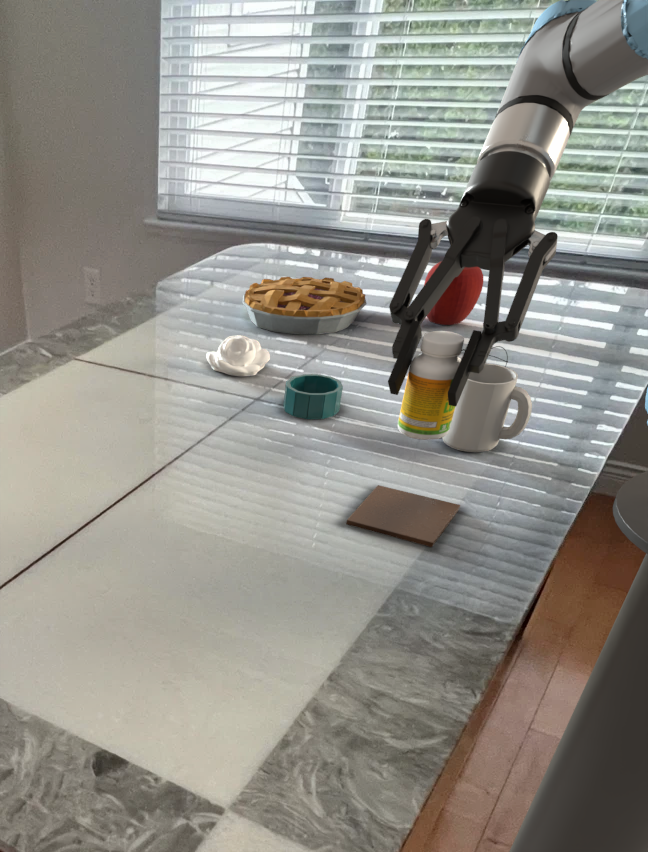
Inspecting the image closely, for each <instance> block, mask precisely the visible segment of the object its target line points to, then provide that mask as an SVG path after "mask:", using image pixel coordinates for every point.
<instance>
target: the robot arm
mask: <svg viewBox="0 0 648 852" xmlns="http://www.w3.org/2000/svg"><path fill="white" fill-rule="evenodd" d="M519 51H520V52H519V54H518V56H517V59H516V62H515V65H514V68H513V70H512V73H511V75H510V78H509V80H508V83H507V86H506V89H505V91H504V94H503V96H502V99H501V102H500V104H499V106H498V109H497V112H496V114H495V116H494V119H493V122H492V123H491V126H490V128H489V131H488V134H487V135H486V138H485V140H484V143H483V146H482V148H481V150H480V153H479V154H478V157H477V159H476V160H477V161H476V164H475V166H474V167H473V170H472V172H471V174H470V177H469V178H468V182H467V184H466V187H465V190H464V191H463V194H462V196H461V199H460V202H459V204H458V206H457V208H456V210H455V211H454V212H452V214H451V215H450V216H448V218H447V220H446V221H445V220H444V221H440V222H434V223H432V220H431V219H430V218H424V219H421V221H419V223H418V231H417V233H418V234H417V241H416V244H415V245H414V246H415V247H414V249H413V251H412V253H411V254H410V257H409V259H408V262H407V264H406V266H405V269H404V271H403V273H402V276H401V278H400V280H399V282H398V284H397V287H396V289H395V291H394V293H393V295H392V298H391V300H390V302H389V305H388V308H389V313H390V318H391V322H392V323H393V324H396V325H397V324H398V325H400V327H399V328H398V331H397V334H396V336H395V339H394V341H393V343H392V346H391V350H392V351H391V353H392V357H393V358H392V359H395V363H394V365H393V367H392V370H391V373H390V375H389V377H388V379H387V384H388V388H389V393H390V395H395V396H398V395H399V393H400V391H401V388H402V386H403V383H404V381H405V378H406V376H407V375H408V372H409V368H410V364H411V361H412V360H413V359H414V358H415V354H416V351H417V349H418V347H419V344H420V343H421V341H422V338H423V332H422V323H423V322H424V320H425V319H426V318H427V315H428V314H429V312H430V311H431V309H432V308H433V307H434V305H435V304H436V303H437V301H438V300H439V299H440V297H441V296H442V294H443V293H444V292H445V290H446V289H447V288H448V286H449V285H450V284H451V282H452V281H453V279H454V278H455V277H458V276H459V274H460V273H461V272H462V270H463V269H464V268H465V267H468V268H469V267H479V268H480V269H481V270H484V271H488V280H487V287H486V289H487V290H486V297H485V307H484V316H483V323H482V330H476V329H473V330H472V332H471V335H470V338H469V340H468V342H467V344H466V347H465V351H464V352H463V353H462V357H461V358H460V359H461V361H460V364H459V366H458V369H457V371H456V374H455V376H454V378H453V381H452V383H451V386H450V388H449V390H448V402H449V405H451V406H457V404H458V401H459V399H460V396H461V394H462V392H463V389H464V387H465V384H466V382H467V380H468V377H469V375H470V372H473V373H480V372H481V371H482V370H483V368H484V366H485V363H486V364H487V361H488V358H489V357H490V356H489V355H491V351H492V350H493V349H492V348H493V347H494V345H495V344H496V343H498V342H501V341H502V342H503V341H505V342H508V343H511V342H515V340H516V339H517V338H518V337H519V334H520V331H521V328H522V325H523V324H524V323H523V322H524V320H525V318H526V315H527V312H528V310H529V308H530V305H531V302H532V300H533V296H534V294H535V292H536V289H537V286H538V283H539V281H540V278H541V276H542V273H543V271H544V269H545V268H546V267H547V266H548V264H549V263H550V262H551V261H552V260H553V258H554V257H555V256H556V254H557V246H558V233H557V232H555V231H549V232H547V233H546V234H545V233H542V232H540V231H537V230H536V219H537V217H538V215H539V212H540V210H541V207H542V205H543V203H544V200H545V197H546V195H547V193H548V190H549V189H550V184H551V182H552V179H553V178H554V175H556V174H555V173H556V171H557V169H558V167H559V164H560V162H561V159H562V156H563V154H564V152H565V150H566V147H567V144H568V142H569V139H570V137H571V135H572V133H573V130H574V127H575V125H576V123H577V121H578V118H579V117H580V114H581V112H582V111H583V110H584V108H586V107H587V106H589V105H591V104H593V103H595V102H596V101H598V100H601V99H603V98H605V97H608V96H609V95H611V94H612V93H614V92H616V91H618V90H619V89H621V88H623V87H625V86H627V85H629V84H630V83H633V82H635V81H636V80H638V79H640V78H643V77H646V76H648V0H558V1H555V2H554V3H552V4H551V5H549V6H548V7H547V8H546V9H545V10H543V12H541V14H540V15H539V16H538V17H537V18H536V21H535V22H534V24H533V26H532V28H531V31H530V33H529V35H528V37H527V39H526V40H525V42H524V45H523V46H522V47H521V49H520V50H519ZM445 237H447V239H448V242H449V245H450V246H449V247H448V249H447V250H446V252H445V254H444V257H443V259H442V260H441V261H442V262H441V261H440V262H441V263H440V265H439V266H438V267H437V269H436V270H435V271H434V273H433V274H432V276H431V277H430V278H429V280H428V281H427V282H426V284H425V285H424V284H423V286H422V288H421V289H420V291H419V292H418V294H417V295H416V296H415V294H416V292H417V290H418V287H419V285H420V282H421V280H422V279H423V276H424V274H425V272H426V269H427V267H428V265H429V262H430V260H431V257H432V253H433V250H436V249H437V248H438V246H439V245H440V244H441V240H442V239H443V238H445ZM527 246H528V260H527V263H526V265H525V269H524V271H523V274H522V276H521V278H520V281H519V284H518V286H517V289H516V291H515V294H514V297H513V300H512V303H511V305H510V308H509V310H508V313H507V316H506V319H505V320H502V321H499V319H500V309H501V301H502V293H503V283H504V275H505V266H506V262H508V261H509V260H511V259H512V258H513V257H514V256H515V255H517V254H519V252H521V251H522V250H523V249H524V248H526V247H527ZM414 296H415V298H414ZM413 298H414V299H413ZM644 409H645V411H646V412H647V413H648V387H647V388H646V393H645V403H644ZM646 424H647V425H648V420H647V421H646Z"/></svg>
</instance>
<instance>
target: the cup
mask: <svg viewBox="0 0 648 852" xmlns="http://www.w3.org/2000/svg"><path fill="white" fill-rule="evenodd" d="M518 378H519V375H518V372H516V371H515V370H514V369H511V368H510V367H507V366H506V367H505V366H504V365H500V364H495V363H487V362H486V363H485V366H484V368H483V370H482V371H481V372H480V373H473V372H470V375H469V377H468V380H467V382H466V384H465V387H464V389H463V392H462V394H461V396H460V399H459V401H458V404H457V406H455V410H454V414H453V418H452V422H451V426H450V429H449V432H448V434H447V435H446V436H444V437H442V438H441V439H442V441H443V443H444V444H445V445H446V446H448V447H449V448H452V449H455V450H457V451H461V452H467V453H484V452H488V451H491V450H493V449H494V448H495V447H496V446H497V445H499V441H500V440H512V439H514V438H516V437H518V436H519V435H520V434H521V433H522V432H523V431H524V430H525V429H526V427H527V426H528V424H529V421H530V418H531V415H532V409H533V402H532V397H531V395H529V393H528V391H527V390H526V389H524V388H522V387H520V386H516V385H517V381H518ZM512 400H513V401H516V402H517V412H516V415H515V417H514V421H513V422H512V423H511V425H510V426H504V425H505V422H506V418H507V415H508V412H509V410H510V406H511V402H512Z"/></svg>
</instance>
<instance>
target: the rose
mask: <svg viewBox="0 0 648 852" xmlns="http://www.w3.org/2000/svg"><path fill="white" fill-rule="evenodd" d="M261 345H262V344H260V342H259V341H258V340H257V339H254V338H250V337H247V336H245V335H242V334H241V335H240V334H237V335H229V336H227V337H226V338H225V339H224V340H222V342H221V343H220V345H219V346H218V348H217V351H209V352H207V353H206V360H207V362H208V364H209V365H210V367H211V369H213V371H216V372H220V373H223V374H225V375H229V376H232V377H252V376H255V375H257V374H258V372H260V371H261V370H262V369H264V368H265V366H266V364H267V363H268V362H269V361H270V359H271V355H270V351H268V350H267V349H266V348H262V346H261Z"/></svg>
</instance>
